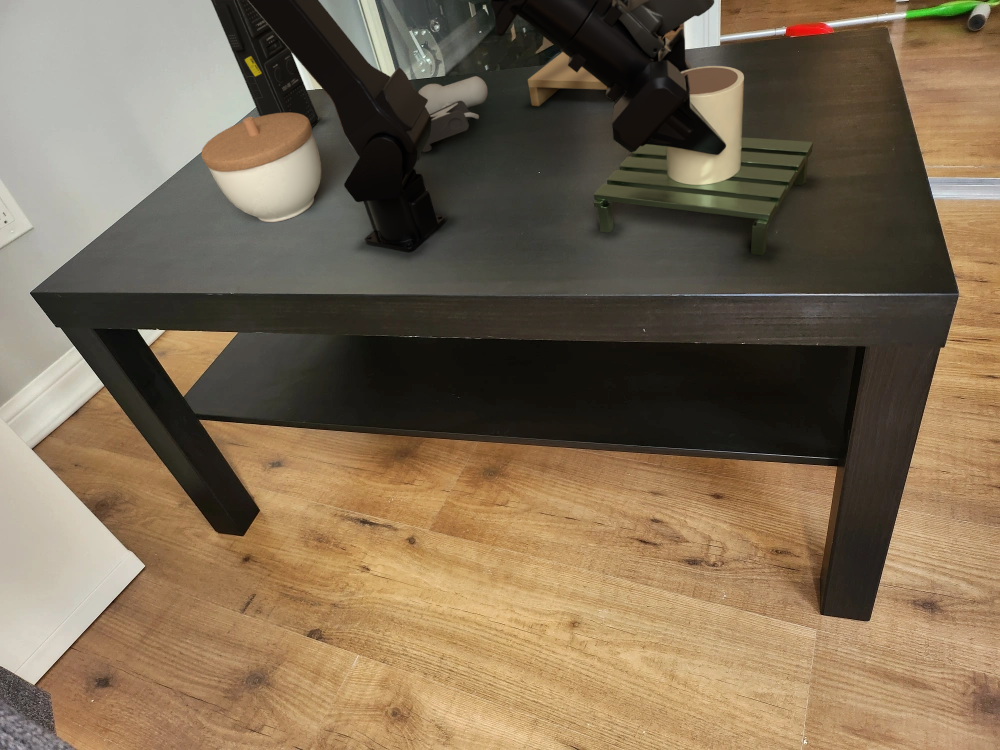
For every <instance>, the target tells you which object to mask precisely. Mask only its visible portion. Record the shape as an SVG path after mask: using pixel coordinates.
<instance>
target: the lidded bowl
mask: <svg viewBox="0 0 1000 750" xmlns="http://www.w3.org/2000/svg"><path fill="white" fill-rule="evenodd" d="M312 127H313V126H312ZM312 127H311V124H310V122H309V120H308V118H307V117H305V116H304V115H302V114H298V113H275V114H269V115H264V116H257V117H254V116H247V117H245V118H243V119H242V121H241V122H238V123H237V124H234V125H232V126H229V127H228V128H226V129H224V130H222V131H220V132H219V133H217V134H216V135H215V136H213V137H212V138H211V139H209V140H208V141H207V142H206V143H205V144H204V146H203V147H202V149H201V153H200V155H201V158H202V161H203V162H204V164H205V165H206V167H207V168H208V170H209V171H210V173H211V176H212V177H213V179H214V181H215V183H216V185H217V186H218V187H219V189H220V191H221V192H222V193H223V195H224V196H225V197H226V198H227V200H228V201H229V202H230V203H231V204H232V205H233V206H234V207H236V208H237V209H239V210H240V211H242V212H243V213H246V214H248V215H249V216H253V217H255V218H257V219H258V220H259V221H260V222H261V221H262V222H264V223H277V222H282V221H286V220H289V219H292V218H295V217H297V216H299V215H301V214H302V213H304V212H306V211H307V210H308V209H309V208H310V207H311V206H313V203H314V202H315V195H316V194H317V192H318V189H319V187H320V184H321V180H322V162H321V155H320V152H319V148H318V144H317V141H316V139H315V136H314V133H313V128H312Z"/></svg>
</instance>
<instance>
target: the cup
mask: <svg viewBox="0 0 1000 750" xmlns="http://www.w3.org/2000/svg"><path fill="white" fill-rule="evenodd" d="M681 74H682V75H683V76H684V77H685V76H686V75H687V74H688V76H689V84H690V102H691V103H692V104H693V105H694V106H695V108H696V109H697V110H698V111H699V112H700V113H701V115H702V116H703V117H704V118H705V119H706V120H707V121H708V123H709V124H710V125H711V126H712V127H713V128H714V130H715V131H716V132H717V133H718V134H719V136H720V137H721V138H722V139H723V141H724V142H725V143H726V148H725V149H724V150H723V151H722V152H721V153H720V154H719V155H713V154H707V153H702V152H696V151H691V150H686V149H679V148H674V147H667V146H666V162H667V174H668V175H669V177H670V178H671V179H673V180H675V181H677V182H680V183H683V184H689V185H706V184H713V183H717V182H721V181H724V180H726V179H729V178H730V177H732V176H734V175H735V174H736V173H737V172H738V171H739V170H740V168H741V152H742V138H743V121H744V94H745V75H744V73H743V72H742V71H741V70H739V69H737V68H734V67H730V66H724V65H707V66H705V65H704V66H698V67H692V69H689V70H685V71H682V72H681Z"/></svg>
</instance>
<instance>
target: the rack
mask: <svg viewBox="0 0 1000 750" xmlns="http://www.w3.org/2000/svg"><path fill="white" fill-rule="evenodd" d="M813 146H814V141H806V140H805V141H804V140H789V139H788V140H787V139H775V138H774V139H773V138H756V137H742V152H741V168H740V170H739V171H738V172H737V173H736V174H735V175H734V176H732V177H730V178H729V179H726V180H724V181H721V182H717V183H713V184H706V185H689V184H683V183H680V182H677V181H675V180H673V179H671V178H670V177H669V175H668V174H667V162H666V146H658V145H650V144H645V145H644V146H640V147H639V148H638V149H637V150H636V151H634V152H632V153H630V154H631V156H627V157H625V159H624V160H622V162H621V163H620V164H619V167H618V168H619V169H615V170H614V171H613V172H612V173H611V174H610V175H609V177H607V179H606V183H602V184H601V185H600V186H599V188H597V189H596V191H595V192H594V193H593V199H594V201H593V202H592V203H593V207H594V208H595V209H597V214H598V223H599V232H600V233H605V234H610V233H611V232H612V230H613V229H614V220H613V219H614V217H613V209H612V203H613V202H614V203H619V204H620V203H622V204H628V205H629V204H630V205H639V206H646V207H654V208H661V209H662V208H663V209H672V210H679V211H680V210H681V211H688V212H695V213H705V214H713V215H719V216H722V215H723V216H727V217H729V216H730V217H737V218H744V219H745V218H746V219H754V220H755V221H754V222H753V224H752V226H751V227H752V228H751V244H750V247H751V248H750V254H751V255H756V256H764V254H765V253H766V251H767V243H768V242H767V241H768V226H769V225H770V223H771V221H772V219H773V218H774V216H775V214H776V213H777V211H778V209H779V207H780V206H781V204H782V203H783V202H784V199H785V198H786V196H787V194H788V193H789V191H790V189H791V188H792V186H793V185H795V186H796V185H797V186H804V184H805V183H806V181H807V175H808V165H809V157H810V156H811V154H812V152H813V148H814V147H813Z"/></svg>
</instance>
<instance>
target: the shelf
mask: <svg viewBox="0 0 1000 750" xmlns="http://www.w3.org/2000/svg"><path fill="white" fill-rule="evenodd" d="M568 61H569V56H567V55H566V54H565V53H564V52H562V51H561V53H559V54H558V55H557V56H555V57H554V58H552V60H550V61H549V62H548V63H546V64H545V65H544V66H543V67H541V69H539V70H537V72H535V73H534V74H533V75H531V76H530V77H529V78H528V79H527V84H528V90H529V97H530V103H531V106H533V107H540V106H541V105H542V104H544V103H545V102H546V101H547V100H549V98H551V97H552V96H553V95H554V94H555V93H556V92H558V91H559V90H560V89H573V90H574V89H577V90H578V89H579V90H581V89H582V90H605V91H606V90H607V86H606V85H604V84H603V83H602V82H600V81H599V80H598V79H597V78H595V77H594V76H593V75H592V74H590V73H589V72H588V71H586V70H585V69H584V68H583V67H581V68H580V70H579V71H578V72H575V71H574V70H573V69H571V68H570V67H569V66H568Z"/></svg>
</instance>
